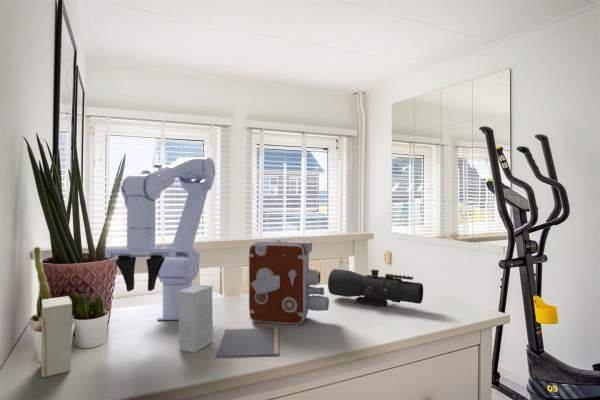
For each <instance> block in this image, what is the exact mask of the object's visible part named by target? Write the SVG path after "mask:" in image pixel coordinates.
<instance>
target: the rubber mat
mask: <svg viewBox="0 0 600 400" xmlns="http://www.w3.org/2000/svg"><path fill="white" fill-rule="evenodd" d="M278 329H279V328H278V326H274V327H268V328H267V327H265V328H235V329H234V328H233V329H230V328H229V329H225V330H224V333H223V336H222V338H221V341H220V344H219V346H218V349H217V353H216V355H215V358H219V359H221V358H245V357H246V358H249V357H273V356H274V357H276V356H279V353H280V352H279V333H278V332H279V331H278Z"/></svg>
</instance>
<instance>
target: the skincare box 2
mask: <svg viewBox="0 0 600 400" xmlns="http://www.w3.org/2000/svg"><path fill="white" fill-rule="evenodd" d="M178 294H179V320H178V341H179V342H178V346H179V350H180V351H184V352H190V353H197V352H199V351H200V350H201V349H203V348H204V347H207V345H209V344H211V343H213V341H214V337H213V336H214V328H213V323H214V322H213V321H214V320H213V286H212V285H206V284H193V286H192V287H189V288H186V289H183V290H181V291H179V292H178Z"/></svg>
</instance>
